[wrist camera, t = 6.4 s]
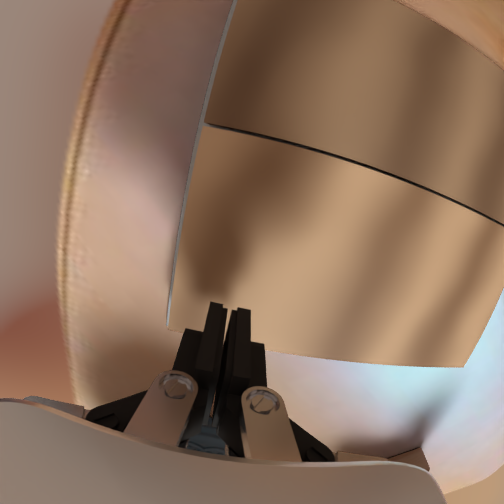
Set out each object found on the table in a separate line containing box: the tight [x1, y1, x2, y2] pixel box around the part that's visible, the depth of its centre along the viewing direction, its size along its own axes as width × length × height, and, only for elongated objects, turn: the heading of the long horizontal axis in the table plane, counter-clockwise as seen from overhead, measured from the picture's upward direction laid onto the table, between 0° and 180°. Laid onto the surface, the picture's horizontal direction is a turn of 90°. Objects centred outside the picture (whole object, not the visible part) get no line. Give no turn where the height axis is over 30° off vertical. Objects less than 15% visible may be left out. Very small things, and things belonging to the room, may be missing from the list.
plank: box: [168, 126, 504, 367], centre depth 15 cm, size 20×10×2 cm, turn 77°
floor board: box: [204, 0, 504, 225], centre depth 12 cm, size 20×9×2 cm, turn 77°
